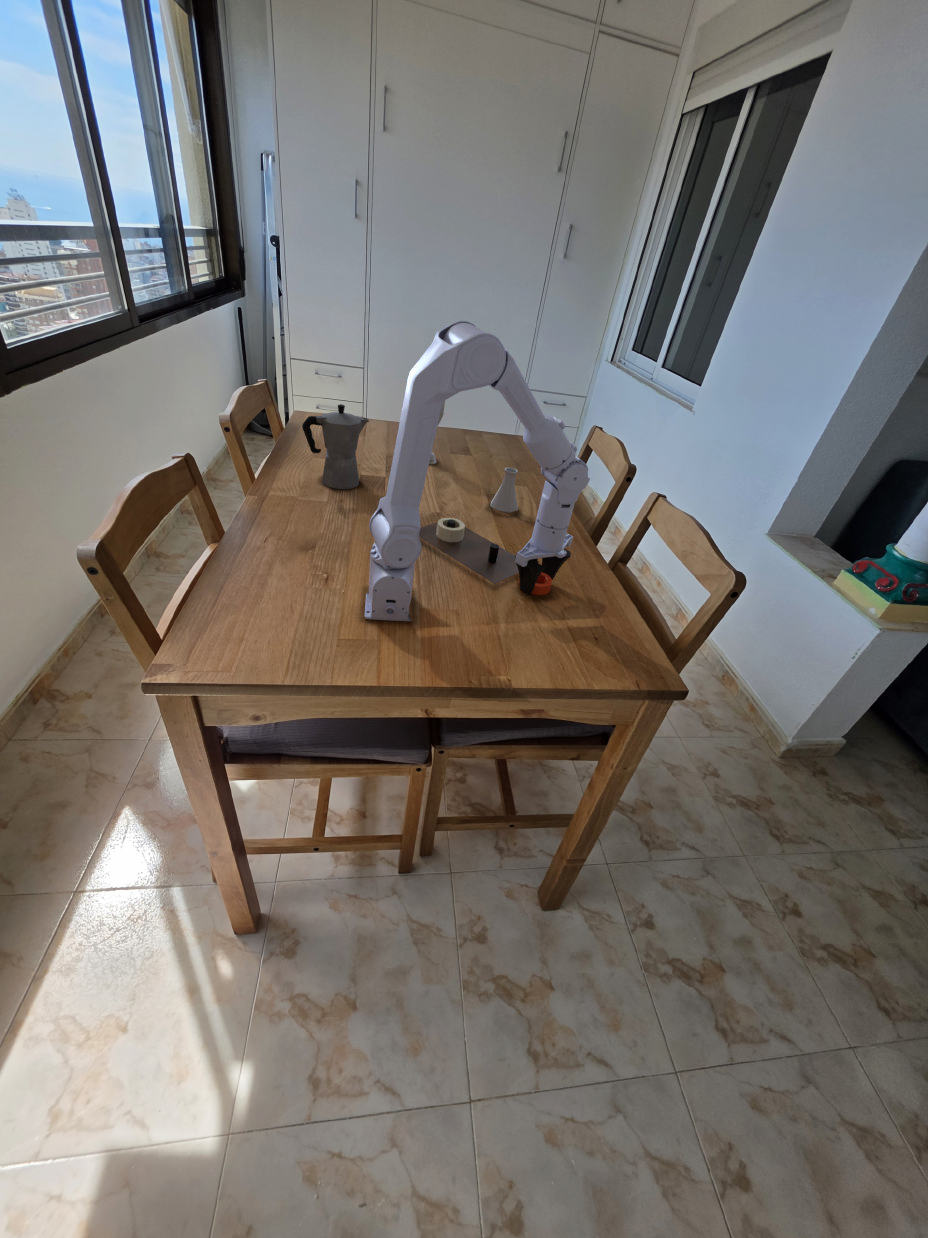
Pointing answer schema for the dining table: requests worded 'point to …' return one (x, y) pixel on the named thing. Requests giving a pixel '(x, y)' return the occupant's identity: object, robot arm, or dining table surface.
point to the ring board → (474, 553)
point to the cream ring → (450, 530)
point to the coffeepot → (337, 446)
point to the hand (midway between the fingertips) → (535, 587)
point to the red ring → (542, 584)
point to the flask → (506, 493)
